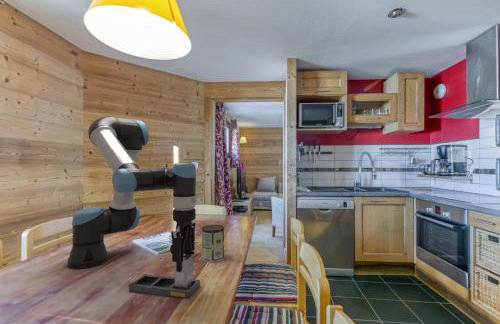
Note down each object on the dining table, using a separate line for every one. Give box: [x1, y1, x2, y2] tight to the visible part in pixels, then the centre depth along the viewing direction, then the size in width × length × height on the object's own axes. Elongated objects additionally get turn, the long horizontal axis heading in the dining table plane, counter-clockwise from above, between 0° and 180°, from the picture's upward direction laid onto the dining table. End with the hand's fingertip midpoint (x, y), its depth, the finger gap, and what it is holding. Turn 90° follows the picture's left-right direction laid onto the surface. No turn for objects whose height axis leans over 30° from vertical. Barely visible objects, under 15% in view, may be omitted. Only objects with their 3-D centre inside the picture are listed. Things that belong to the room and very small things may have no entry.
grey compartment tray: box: [128, 274, 201, 300], centre depth 87 cm, size 22×9×2 cm, turn 78°
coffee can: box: [201, 224, 225, 263], centre depth 116 cm, size 10×10×14 cm
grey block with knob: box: [174, 254, 194, 290], centre depth 85 cm, size 4×4×10 cm
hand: (184, 276), depth 85 cm, fingers closed on grey block with knob, 4 cm apart
